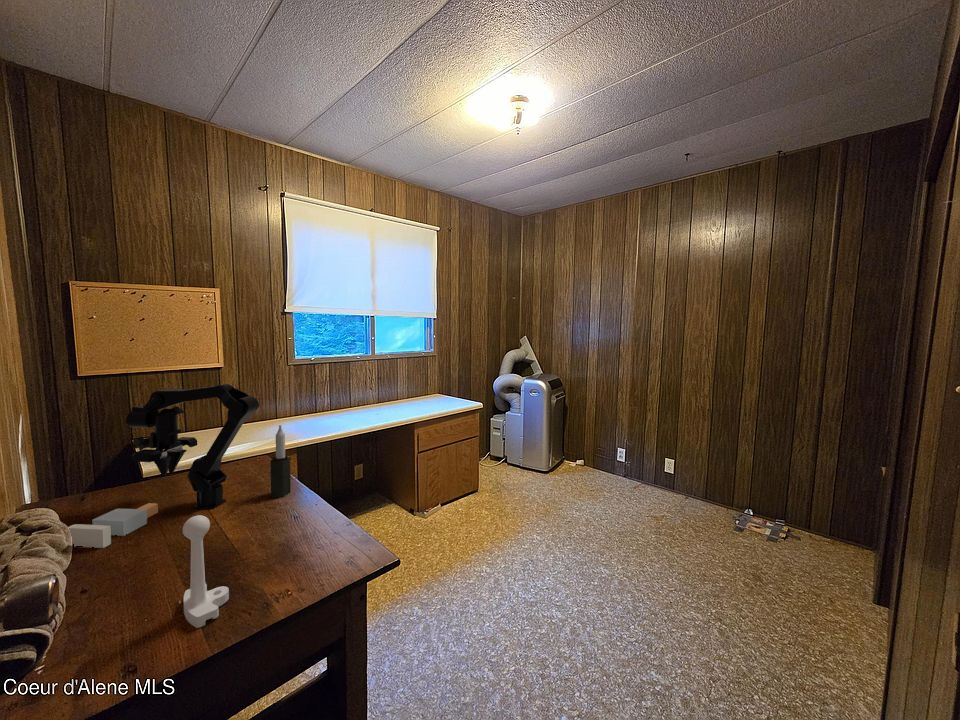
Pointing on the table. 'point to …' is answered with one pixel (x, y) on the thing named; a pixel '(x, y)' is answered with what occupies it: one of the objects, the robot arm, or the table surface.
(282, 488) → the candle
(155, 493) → the table surface
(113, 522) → the sled
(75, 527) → the wall
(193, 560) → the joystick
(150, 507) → the tan rectangular brick
